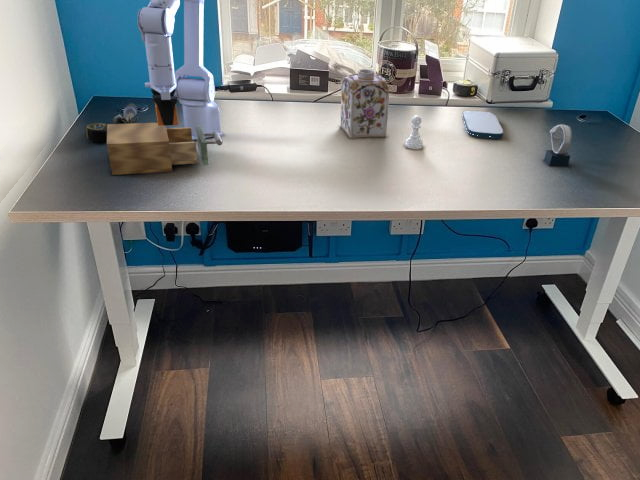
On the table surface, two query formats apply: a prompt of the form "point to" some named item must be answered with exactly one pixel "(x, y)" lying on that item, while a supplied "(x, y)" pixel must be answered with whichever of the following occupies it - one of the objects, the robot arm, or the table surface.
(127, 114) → the eagle figurine
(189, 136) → the drawer
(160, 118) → the plain orange block
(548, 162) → the watch
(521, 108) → the table surface
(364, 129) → the decorative jar
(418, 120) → the chess pawn
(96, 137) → the tape measure
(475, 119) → the external hard drive
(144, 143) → the cabinet
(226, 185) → the table surface
